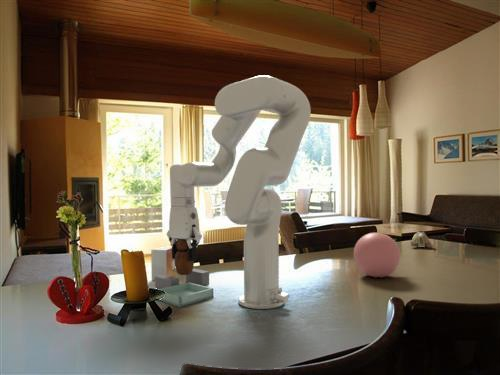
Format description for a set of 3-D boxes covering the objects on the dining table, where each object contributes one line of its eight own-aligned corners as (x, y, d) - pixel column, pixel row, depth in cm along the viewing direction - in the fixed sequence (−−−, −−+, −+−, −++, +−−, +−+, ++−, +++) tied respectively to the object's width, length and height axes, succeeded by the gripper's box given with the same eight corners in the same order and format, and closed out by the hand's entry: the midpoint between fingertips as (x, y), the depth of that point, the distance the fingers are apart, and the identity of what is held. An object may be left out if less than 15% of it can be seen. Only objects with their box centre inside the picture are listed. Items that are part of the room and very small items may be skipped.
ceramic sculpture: (430, 228, 206) (434, 233, 192) (430, 245, 207) (434, 251, 193) (408, 228, 210) (410, 233, 196) (408, 244, 210) (410, 250, 196)
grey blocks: (209, 283, 130) (209, 271, 130) (171, 293, 118) (171, 280, 118) (193, 280, 135) (192, 268, 135) (155, 289, 123) (154, 276, 123)
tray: (213, 297, 115) (213, 288, 115) (180, 307, 105) (179, 297, 105) (188, 290, 122) (188, 282, 122) (154, 299, 113) (154, 290, 113)
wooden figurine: (173, 273, 128) (172, 226, 128) (191, 271, 130) (190, 225, 130) (177, 277, 122) (176, 228, 122) (196, 275, 124) (194, 227, 124)
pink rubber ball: (415, 275, 140) (415, 231, 140) (384, 284, 127) (384, 236, 127) (376, 268, 152) (376, 228, 152) (344, 276, 139) (344, 232, 139)
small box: (166, 281, 134) (166, 250, 133) (151, 280, 135) (150, 249, 135) (175, 275, 141) (175, 246, 141) (161, 275, 143) (160, 245, 142)
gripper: (210, 202, 123) (211, 260, 123) (175, 202, 135) (176, 255, 135) (191, 203, 118) (193, 264, 117) (156, 203, 129) (158, 258, 129)
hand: (184, 258), depth 126 cm, fingers closed on wooden figurine, 7 cm apart
